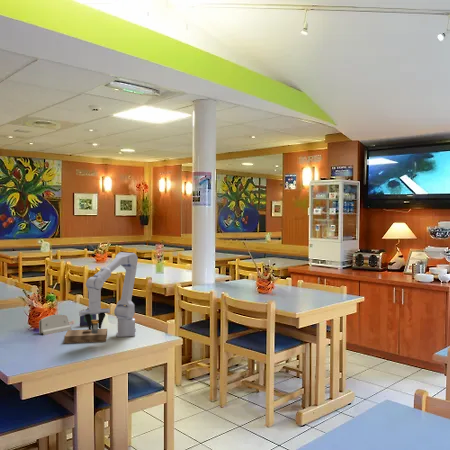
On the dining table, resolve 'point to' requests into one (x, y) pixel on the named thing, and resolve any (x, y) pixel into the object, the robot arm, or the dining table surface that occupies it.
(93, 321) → the pin
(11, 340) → the dining table surface
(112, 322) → the dining table surface
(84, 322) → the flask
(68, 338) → the hitch block
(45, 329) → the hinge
